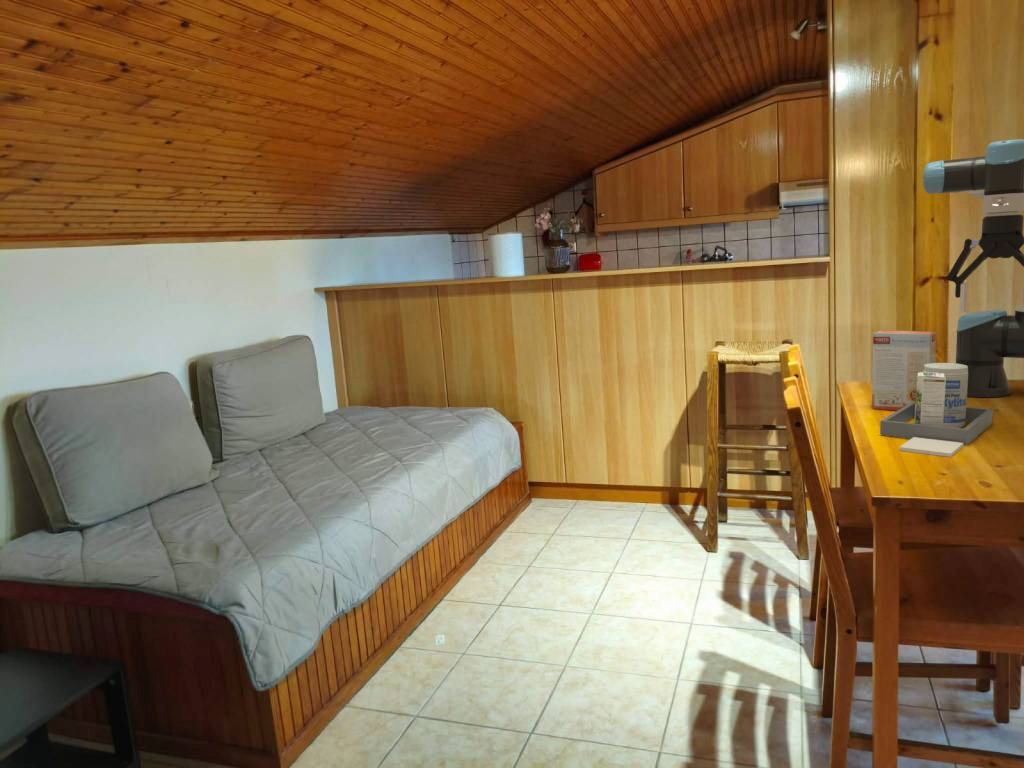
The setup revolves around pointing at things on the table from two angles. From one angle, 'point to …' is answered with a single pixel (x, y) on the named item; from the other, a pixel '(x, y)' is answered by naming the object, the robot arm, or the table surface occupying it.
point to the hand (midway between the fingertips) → (997, 312)
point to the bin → (899, 428)
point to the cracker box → (899, 366)
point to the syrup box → (930, 398)
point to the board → (931, 447)
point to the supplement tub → (953, 391)
